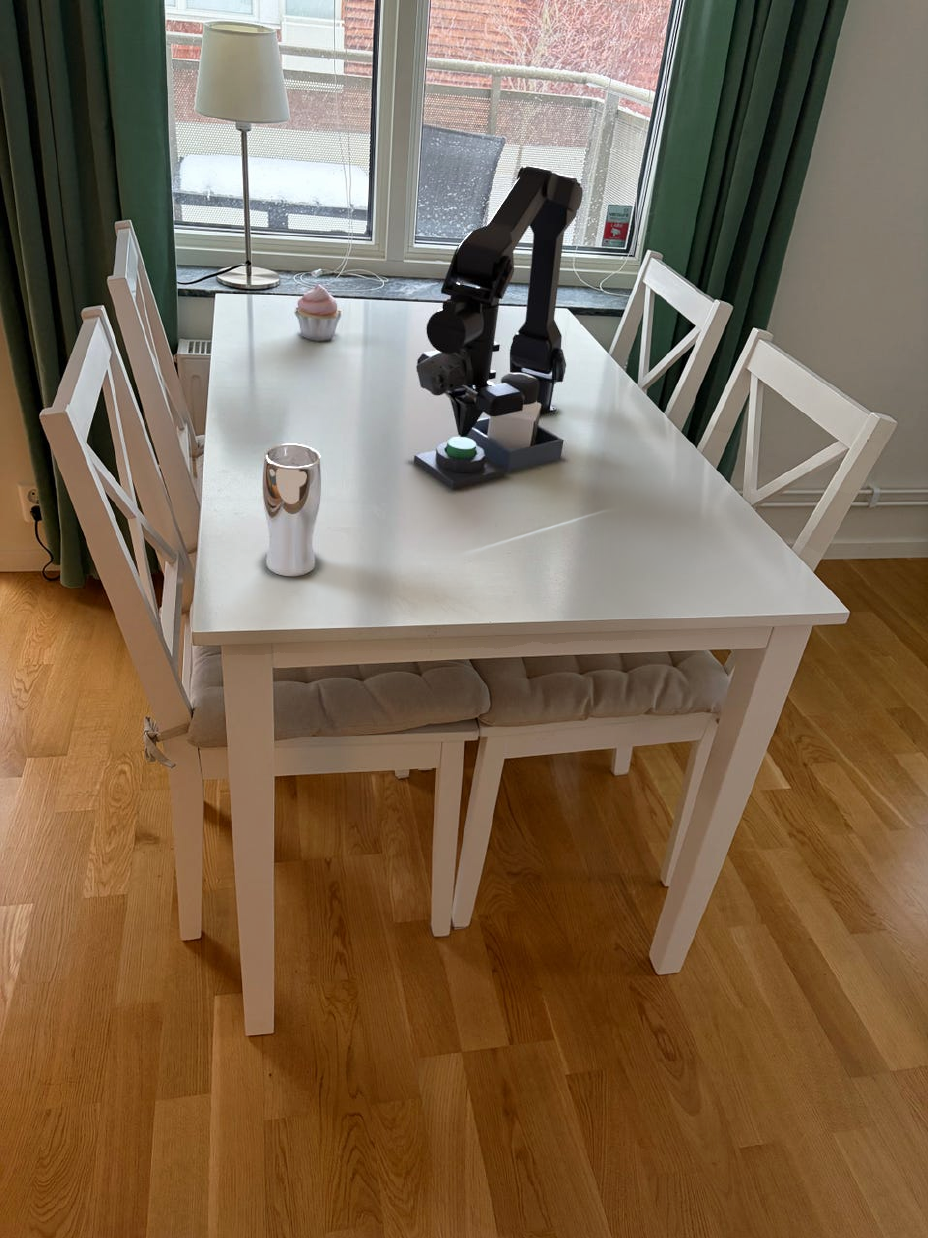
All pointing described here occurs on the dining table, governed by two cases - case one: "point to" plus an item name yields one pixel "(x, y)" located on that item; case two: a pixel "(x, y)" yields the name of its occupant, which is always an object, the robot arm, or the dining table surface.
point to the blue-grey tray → (540, 453)
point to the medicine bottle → (518, 415)
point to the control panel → (458, 467)
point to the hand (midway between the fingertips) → (462, 435)
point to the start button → (461, 447)
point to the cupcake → (317, 314)
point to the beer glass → (291, 506)
